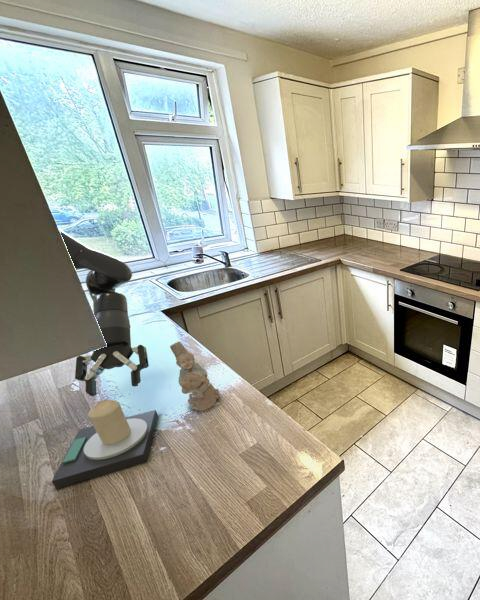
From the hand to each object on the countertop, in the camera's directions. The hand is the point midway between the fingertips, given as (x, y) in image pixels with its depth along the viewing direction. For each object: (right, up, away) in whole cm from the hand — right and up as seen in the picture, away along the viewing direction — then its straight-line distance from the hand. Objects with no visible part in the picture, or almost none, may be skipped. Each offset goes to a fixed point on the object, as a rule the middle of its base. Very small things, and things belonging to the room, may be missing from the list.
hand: (114, 390), depth 82 cm
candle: (+3, -10, -3) cm, 11 cm away
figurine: (+15, -7, +12) cm, 21 cm away
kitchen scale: (+2, -13, -3) cm, 14 cm away
